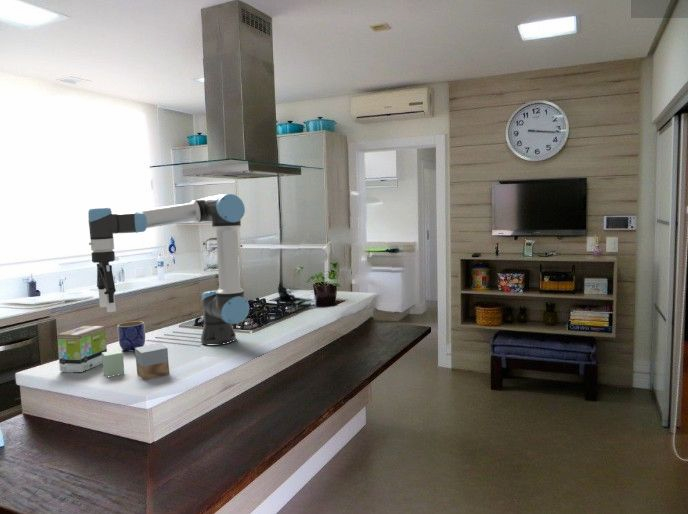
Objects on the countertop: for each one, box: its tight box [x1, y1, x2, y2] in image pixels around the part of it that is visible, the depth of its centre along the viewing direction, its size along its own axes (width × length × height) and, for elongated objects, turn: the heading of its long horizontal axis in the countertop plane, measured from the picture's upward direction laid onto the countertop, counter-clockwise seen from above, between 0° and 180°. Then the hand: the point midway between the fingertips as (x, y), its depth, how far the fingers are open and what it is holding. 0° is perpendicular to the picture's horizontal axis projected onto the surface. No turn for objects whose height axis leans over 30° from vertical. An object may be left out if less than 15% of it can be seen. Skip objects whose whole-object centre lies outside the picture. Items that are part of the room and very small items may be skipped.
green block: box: [102, 349, 125, 378], centre depth 189 cm, size 6×6×8 cm
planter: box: [116, 320, 146, 352], centre depth 223 cm, size 11×11×11 cm
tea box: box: [57, 325, 108, 373], centre depth 199 cm, size 15×10×15 cm
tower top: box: [134, 342, 169, 367], centre depth 186 cm, size 9×9×5 cm
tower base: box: [135, 361, 170, 381], centre depth 186 cm, size 9×9×5 cm
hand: (107, 309), depth 187 cm, fingers open, 13 cm apart
